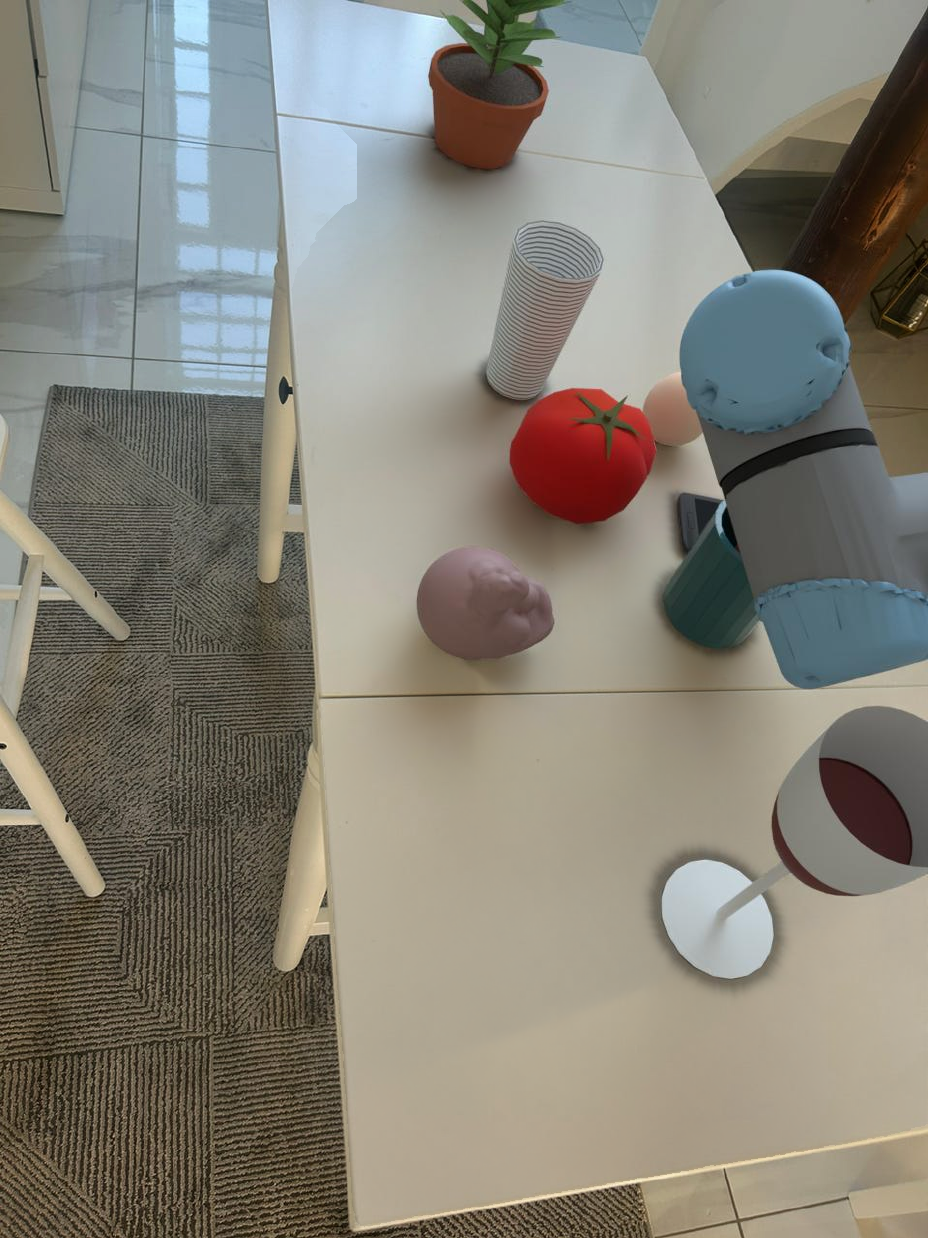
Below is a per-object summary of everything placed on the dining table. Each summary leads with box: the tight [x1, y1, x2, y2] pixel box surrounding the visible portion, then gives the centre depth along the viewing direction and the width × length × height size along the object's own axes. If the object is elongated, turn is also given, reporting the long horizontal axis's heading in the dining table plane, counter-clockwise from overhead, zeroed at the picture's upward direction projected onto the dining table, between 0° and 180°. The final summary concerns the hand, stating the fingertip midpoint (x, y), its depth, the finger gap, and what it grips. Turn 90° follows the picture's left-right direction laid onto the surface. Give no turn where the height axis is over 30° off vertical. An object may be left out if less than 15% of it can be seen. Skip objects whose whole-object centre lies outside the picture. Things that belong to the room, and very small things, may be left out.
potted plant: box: [428, 0, 573, 170], centre depth 111 cm, size 15×15×30 cm
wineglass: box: [661, 705, 928, 980], centre depth 62 cm, size 9×10×23 cm
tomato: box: [509, 387, 658, 525], centre depth 88 cm, size 13×12×11 cm
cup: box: [485, 220, 605, 401], centre depth 93 cm, size 8×8×16 cm
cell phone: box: [677, 492, 725, 554], centre depth 94 cm, size 7×14×1 cm, turn 87°
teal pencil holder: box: [662, 499, 761, 650], centre depth 83 cm, size 8×8×11 cm
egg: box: [641, 371, 703, 447], centre depth 97 cm, size 7×7×8 cm
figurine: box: [416, 546, 555, 661], centre depth 76 cm, size 9×11×12 cm
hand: (798, 504), depth 80 cm, fingers closed on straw, 2 cm apart
